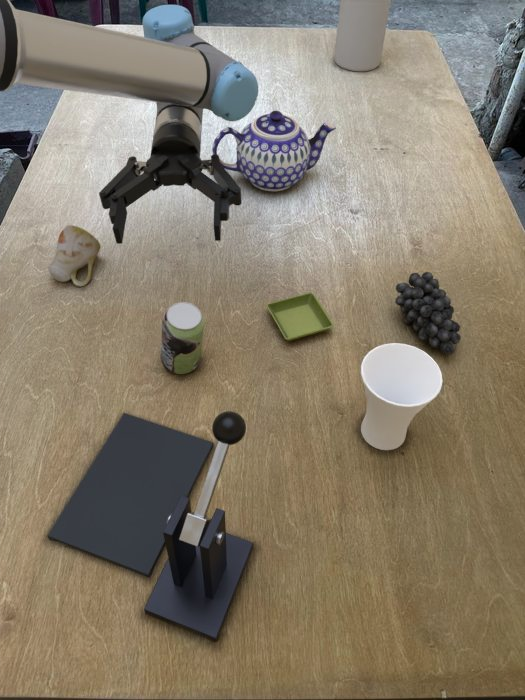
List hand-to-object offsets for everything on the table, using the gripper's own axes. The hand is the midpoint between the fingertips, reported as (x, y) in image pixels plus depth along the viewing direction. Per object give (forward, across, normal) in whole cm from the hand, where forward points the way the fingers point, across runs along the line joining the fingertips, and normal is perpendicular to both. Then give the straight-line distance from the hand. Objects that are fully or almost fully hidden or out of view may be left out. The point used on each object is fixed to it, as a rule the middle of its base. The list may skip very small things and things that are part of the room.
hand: (167, 235), depth 85 cm
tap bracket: (+40, -4, -19) cm, 45 cm away
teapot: (-44, -16, -24) cm, 53 cm away
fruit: (-1, -40, -23) cm, 46 cm away
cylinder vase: (-99, -40, -28) cm, 111 cm away
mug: (-15, +20, -21) cm, 33 cm away
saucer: (-2, -19, -22) cm, 29 cm away
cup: (+19, -30, -22) cm, 42 cm away
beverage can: (+7, 0, -21) cm, 22 cm away
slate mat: (+28, +5, -20) cm, 35 cm away
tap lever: (+34, -7, -4) cm, 35 cm away
